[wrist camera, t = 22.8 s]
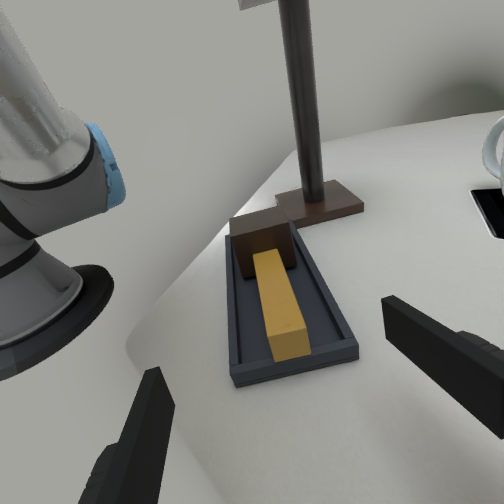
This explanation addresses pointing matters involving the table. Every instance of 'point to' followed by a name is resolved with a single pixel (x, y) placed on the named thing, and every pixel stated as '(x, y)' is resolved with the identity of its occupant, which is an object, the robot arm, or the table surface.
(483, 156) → the mug
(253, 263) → the mallet
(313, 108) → the pedestal stand
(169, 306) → the table surface
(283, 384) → the table surface
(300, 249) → the tray
